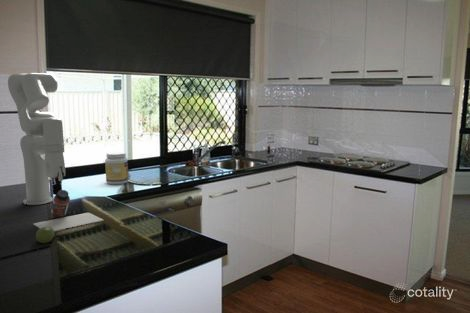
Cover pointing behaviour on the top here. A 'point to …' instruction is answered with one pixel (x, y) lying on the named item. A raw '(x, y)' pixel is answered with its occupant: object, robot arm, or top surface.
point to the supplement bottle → (60, 204)
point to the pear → (45, 234)
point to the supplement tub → (116, 168)
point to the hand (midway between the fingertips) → (57, 193)
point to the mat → (69, 221)
